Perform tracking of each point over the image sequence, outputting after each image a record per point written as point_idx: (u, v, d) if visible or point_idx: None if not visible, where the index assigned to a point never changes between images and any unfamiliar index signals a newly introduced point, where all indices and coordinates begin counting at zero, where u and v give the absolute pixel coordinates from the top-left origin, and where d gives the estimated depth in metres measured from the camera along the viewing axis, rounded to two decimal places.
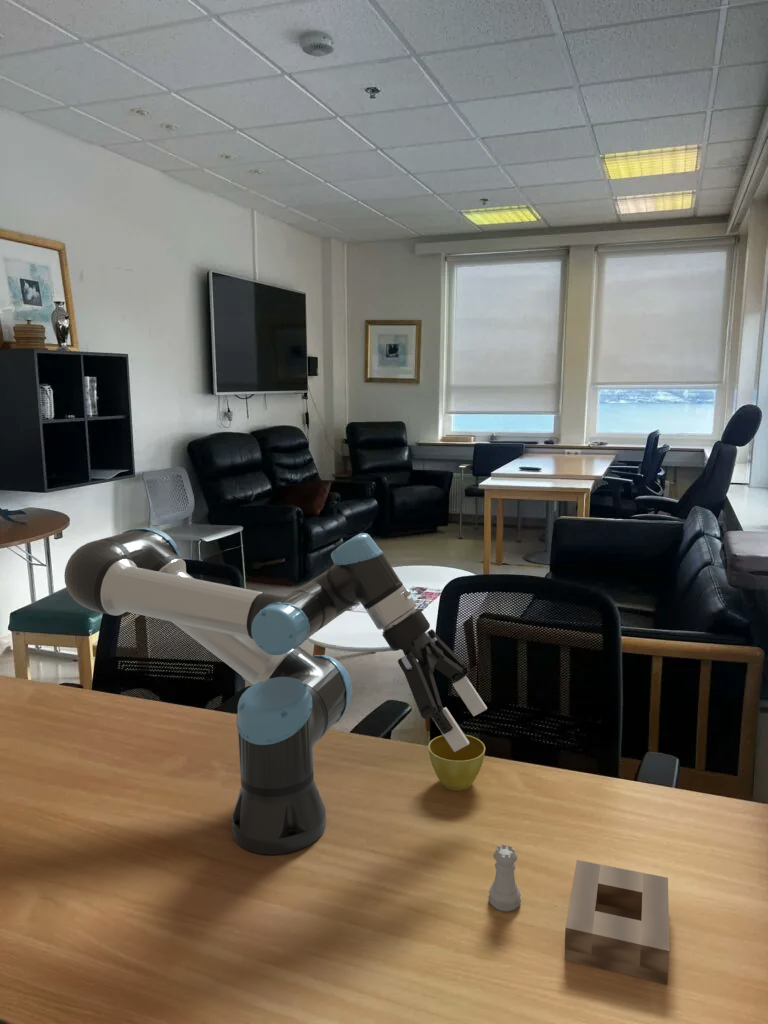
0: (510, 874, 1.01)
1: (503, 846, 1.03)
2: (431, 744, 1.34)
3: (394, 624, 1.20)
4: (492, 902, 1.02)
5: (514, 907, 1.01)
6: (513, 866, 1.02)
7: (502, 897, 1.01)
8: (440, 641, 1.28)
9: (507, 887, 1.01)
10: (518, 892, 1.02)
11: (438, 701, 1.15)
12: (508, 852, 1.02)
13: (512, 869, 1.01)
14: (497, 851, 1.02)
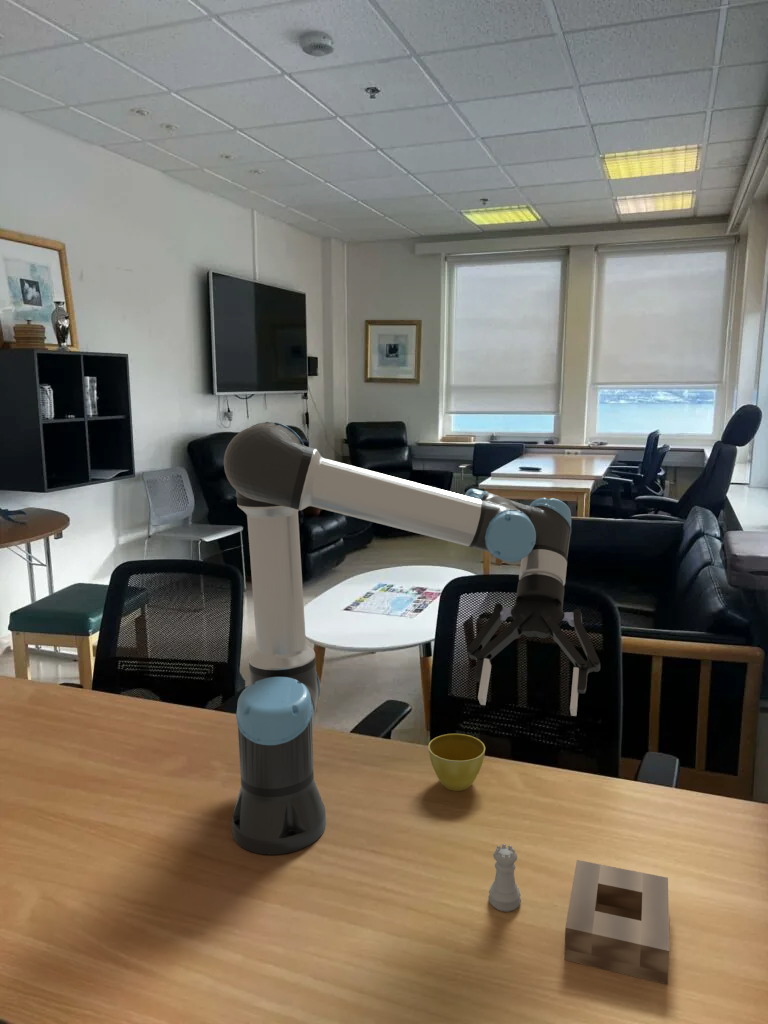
0: (510, 874, 1.01)
1: (503, 846, 1.03)
2: (431, 744, 1.35)
3: None
4: (492, 902, 1.02)
5: (514, 907, 1.01)
6: (513, 866, 1.02)
7: (502, 897, 1.01)
8: None
9: (507, 887, 1.01)
10: (518, 892, 1.02)
11: None
12: (508, 852, 1.02)
13: (512, 869, 1.01)
14: (497, 851, 1.02)
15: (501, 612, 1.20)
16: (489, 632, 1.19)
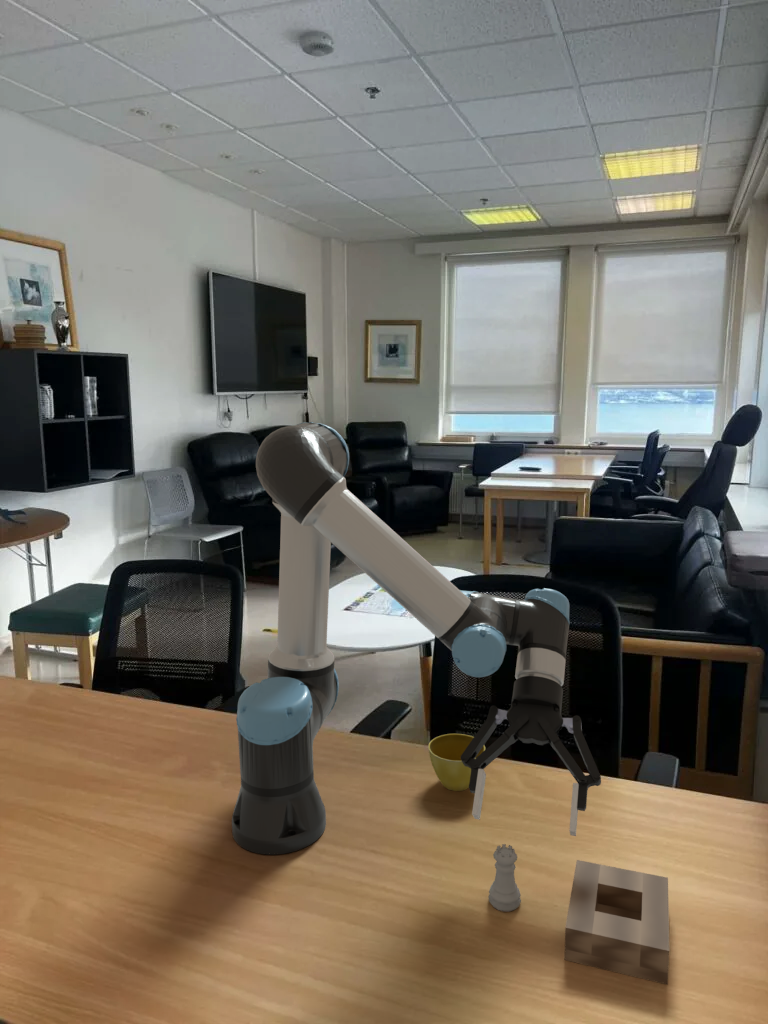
0: (510, 874, 1.01)
1: (503, 846, 1.03)
2: (431, 744, 1.34)
3: None
4: (492, 902, 1.02)
5: (514, 907, 1.01)
6: (513, 866, 1.02)
7: (502, 897, 1.01)
8: None
9: (507, 887, 1.01)
10: (518, 892, 1.02)
11: None
12: (508, 852, 1.02)
13: (512, 869, 1.01)
14: (497, 851, 1.02)
15: (496, 716, 1.14)
16: (484, 738, 1.13)
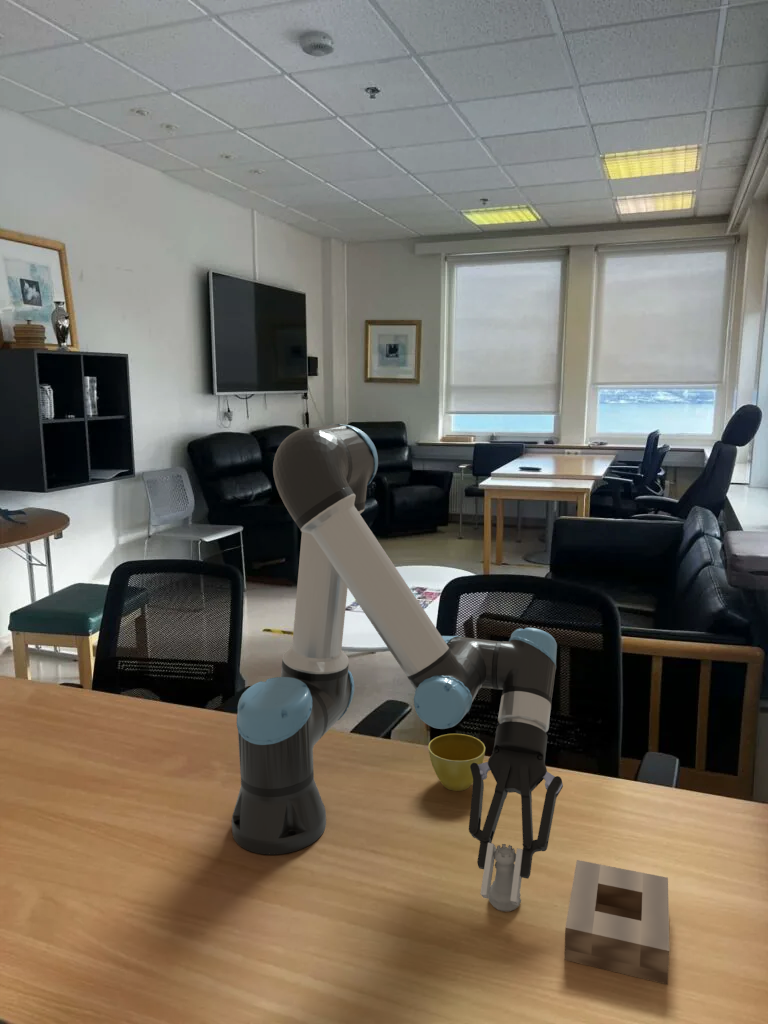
0: (510, 874, 1.01)
1: (503, 846, 1.03)
2: (431, 744, 1.34)
3: None
4: (492, 902, 1.02)
5: (514, 906, 1.01)
6: (513, 866, 1.02)
7: (502, 897, 1.01)
8: None
9: (507, 887, 1.01)
10: None
11: None
12: (508, 852, 1.02)
13: (512, 869, 1.01)
14: (497, 851, 1.02)
15: (480, 772, 1.08)
16: (480, 800, 1.06)
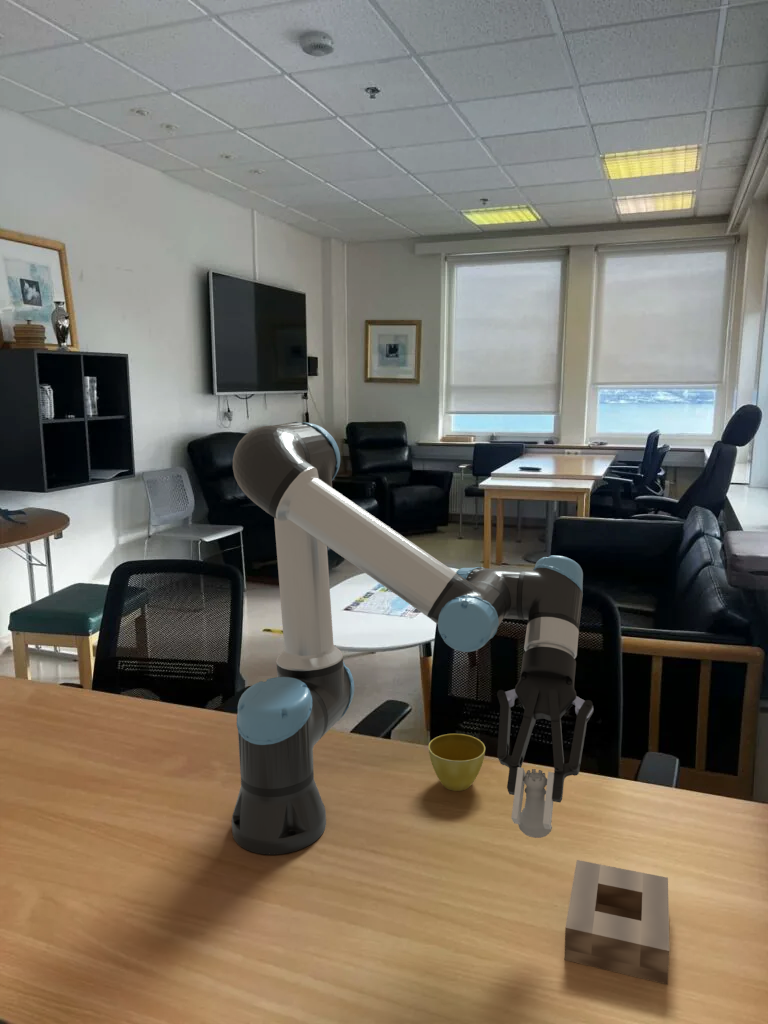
0: (541, 799, 0.98)
1: (533, 771, 0.99)
2: (431, 744, 1.34)
3: None
4: (522, 828, 0.99)
5: (545, 832, 0.98)
6: (544, 791, 0.98)
7: (533, 823, 0.98)
8: None
9: (537, 812, 0.98)
10: None
11: None
12: (538, 776, 0.98)
13: (543, 793, 0.98)
14: (527, 775, 0.98)
15: (508, 698, 1.05)
16: (508, 726, 1.03)
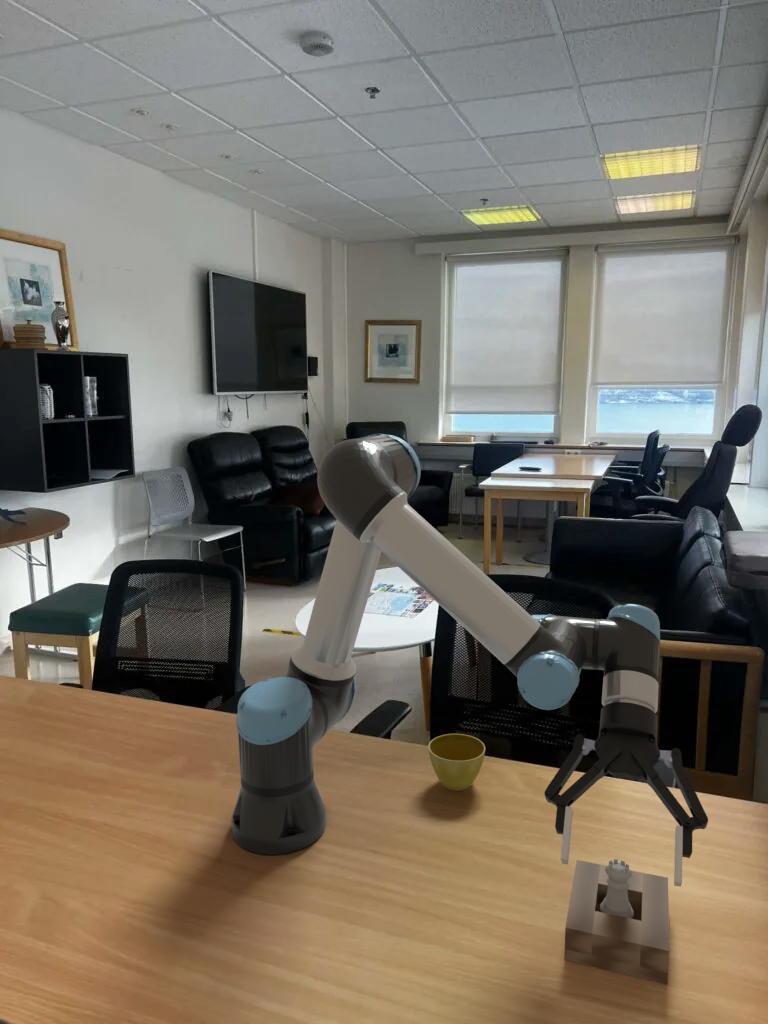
0: (625, 891, 0.95)
1: (615, 861, 0.97)
2: (431, 744, 1.34)
3: None
4: None
5: None
6: (627, 882, 0.96)
7: None
8: None
9: (621, 905, 0.95)
10: (632, 910, 0.96)
11: None
12: (622, 868, 0.96)
13: (627, 886, 0.95)
14: (610, 867, 0.96)
15: (583, 746, 1.02)
16: (570, 771, 1.01)
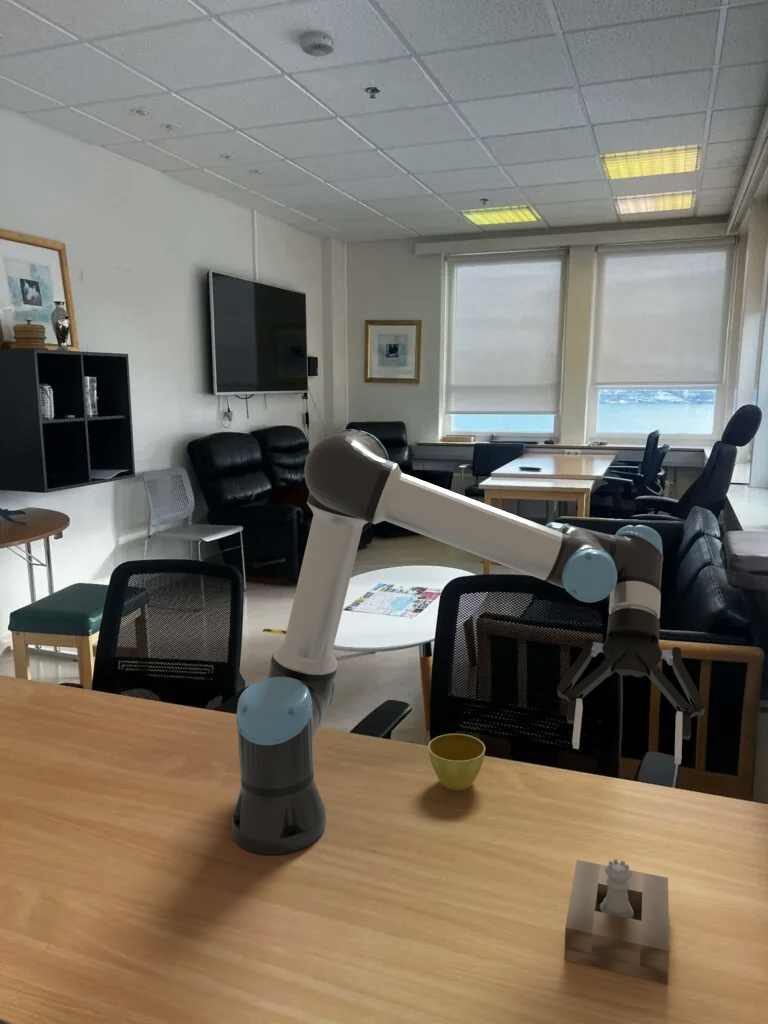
0: (625, 892, 0.95)
1: (615, 861, 0.97)
2: (431, 744, 1.35)
3: None
4: None
5: None
6: (627, 883, 0.96)
7: None
8: None
9: (621, 905, 0.95)
10: (632, 910, 0.96)
11: None
12: (622, 868, 0.96)
13: (626, 886, 0.95)
14: (610, 867, 0.96)
15: (592, 648, 1.13)
16: (580, 669, 1.12)
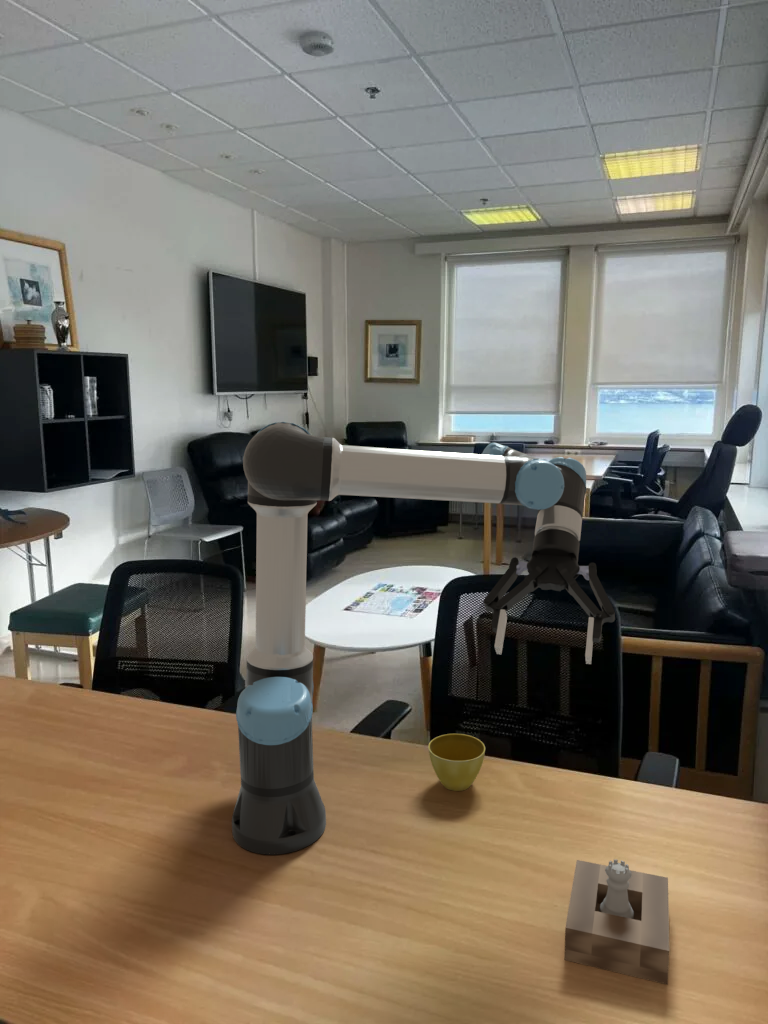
0: (625, 892, 0.95)
1: (615, 861, 0.97)
2: (431, 744, 1.34)
3: None
4: None
5: None
6: (627, 883, 0.96)
7: None
8: None
9: (621, 905, 0.95)
10: (632, 910, 0.96)
11: None
12: (622, 868, 0.96)
13: (626, 886, 0.95)
14: (610, 867, 0.96)
15: (517, 566, 1.23)
16: (505, 585, 1.22)
